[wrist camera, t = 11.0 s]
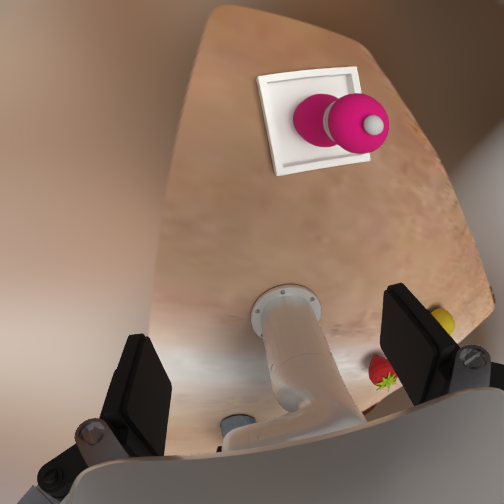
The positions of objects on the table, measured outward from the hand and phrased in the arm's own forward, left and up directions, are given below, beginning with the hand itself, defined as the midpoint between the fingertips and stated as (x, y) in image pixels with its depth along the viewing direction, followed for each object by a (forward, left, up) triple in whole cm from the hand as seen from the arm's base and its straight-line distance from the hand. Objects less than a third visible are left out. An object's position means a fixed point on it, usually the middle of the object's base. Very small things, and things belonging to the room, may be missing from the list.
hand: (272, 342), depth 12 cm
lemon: (-36, -35, -36) cm, 62 cm away
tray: (+6, -12, -36) cm, 39 cm away
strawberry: (-44, -21, -36) cm, 61 cm away
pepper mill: (+6, -12, -35) cm, 38 cm away
